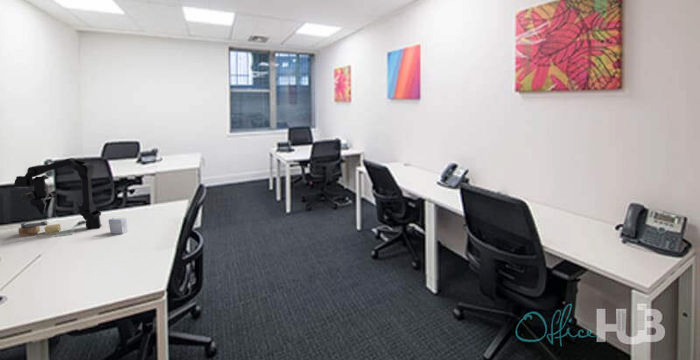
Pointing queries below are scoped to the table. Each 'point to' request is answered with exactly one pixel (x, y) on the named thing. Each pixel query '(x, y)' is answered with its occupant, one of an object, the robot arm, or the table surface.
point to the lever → (33, 224)
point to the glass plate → (64, 233)
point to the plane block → (28, 231)
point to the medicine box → (118, 225)
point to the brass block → (52, 228)
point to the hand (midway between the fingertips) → (44, 212)
